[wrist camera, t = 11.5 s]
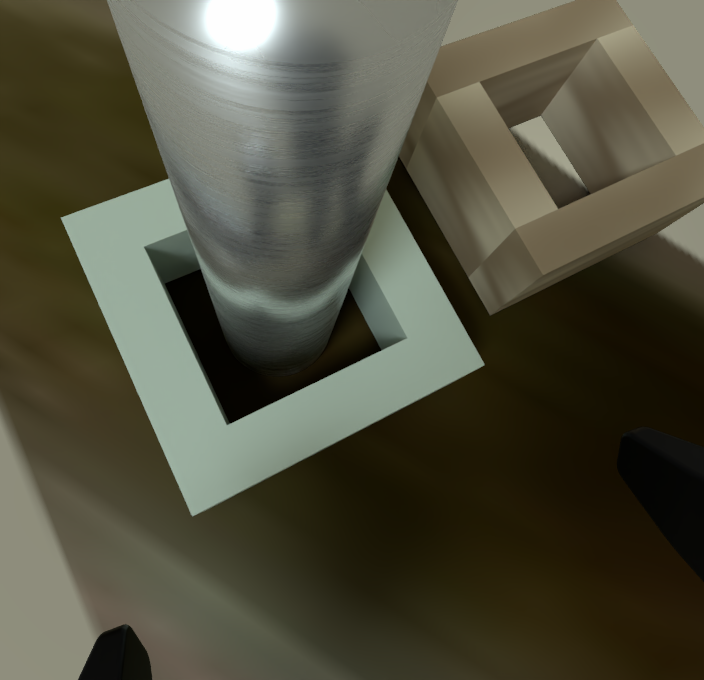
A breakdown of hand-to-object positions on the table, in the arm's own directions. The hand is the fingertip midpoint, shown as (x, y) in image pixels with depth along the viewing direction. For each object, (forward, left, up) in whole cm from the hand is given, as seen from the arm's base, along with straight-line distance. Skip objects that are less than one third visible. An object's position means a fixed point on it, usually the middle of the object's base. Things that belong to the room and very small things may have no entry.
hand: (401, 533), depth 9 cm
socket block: (+6, -1, -8) cm, 10 cm away
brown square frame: (+7, -12, -8) cm, 16 cm away
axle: (+6, -1, -8) cm, 10 cm away
